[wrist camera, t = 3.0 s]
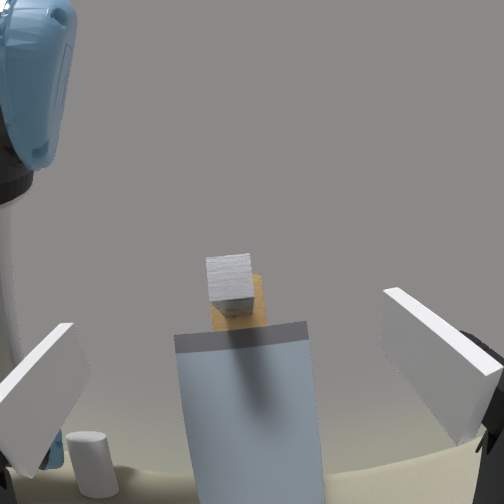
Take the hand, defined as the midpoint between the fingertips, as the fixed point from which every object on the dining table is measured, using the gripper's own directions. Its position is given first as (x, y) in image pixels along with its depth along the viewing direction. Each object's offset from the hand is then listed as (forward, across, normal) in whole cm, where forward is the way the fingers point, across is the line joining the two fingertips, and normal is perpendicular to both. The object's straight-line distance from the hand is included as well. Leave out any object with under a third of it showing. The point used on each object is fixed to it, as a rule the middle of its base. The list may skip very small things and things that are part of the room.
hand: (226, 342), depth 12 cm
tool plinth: (+10, 0, -39) cm, 40 cm away
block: (+18, 0, -9) cm, 20 cm away
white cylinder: (+18, -32, -44) cm, 57 cm away
